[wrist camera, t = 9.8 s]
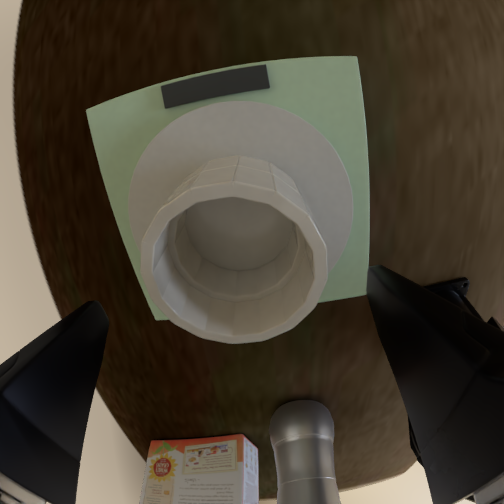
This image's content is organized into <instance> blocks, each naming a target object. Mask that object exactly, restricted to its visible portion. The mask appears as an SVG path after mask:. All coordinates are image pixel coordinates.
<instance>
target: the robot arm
mask: <svg viewBox="0 0 504 504" xmlns="http://www.w3.org/2000/svg"><path fill="white" fill-rule="evenodd" d="M469 283H470V282H469V280H468V279H467V278H466V277H464V278H460V279H455V280H451V281H447V282H442V283H438V284H434V285H429V286H424V287H422V286H420V285H418V284H416V283H414V282H413V281H411V280H409V279H407V278H405V277H403V276H401V275H399V274H397V273H396V272H394V271H392V270H390V269H388V268H386V267H384V266H382V265H376V266H370V267H369V268H368V271H367V285H366V292H367V297H368V300H369V304H370V307H371V311H372V314H373V317H374V321H375V325H376V328H377V332H378V335H379V338H380V340H381V343H382V345H383V348H384V350H385V353H386V355H387V358H388V361H389V363H390V366H391V368H392V371H393V374H394V376H395V379H396V382H397V384H398V387H399V390H400V393H401V396H402V398H403V401H404V404H405V407H406V410H407V413H408V422H409V435H410V445H411V449H412V450H413V451H414V454H415V455H416V457H417V460H418V462H419V463H420V464H421V465H422V466H423V467H424V469H425V473H426V477H427V481H428V484H429V488H430V493H431V497H432V501H433V504H455V503H457V502H459V501H461V500H463V499H467V500H469V501H472V502H475V503H476V504H504V328H503V327H502V326H501V325H500V324H499V323H498V322H497V321H496V320H495V319H494V318H493V317H491V318H490V319H489V321H488V322H487V323H486V322H485V321H484V320H483V319H482V318H481V316H480V315H479V314H478V312H477V311H476V310H475V308H474V307H473V306H472V305H471V303H470V302H469V301H468V299H467V298H466V294H467V291H468V287H469ZM108 327H109V320H108V317H107V315H106V313H105V311H104V309H103V308H102V306H101V304H100V302H98V301H88V302H86V303H85V304H83V305H82V306H81V307H79V308H78V309H76V310H75V311H73V312H72V313H70V314H69V315H68V316H66V317H65V318H63V319H62V320H61V321H59V322H58V323H56V324H55V325H54V326H52V327H51V328H49V329H48V330H47V331H45V332H44V333H42V334H41V335H40V336H38V337H37V338H36V339H34V340H33V341H32V342H30V343H29V344H28V345H26V346H25V347H23V348H22V349H21V350H20V351H18V352H17V353H15V354H14V355H13V356H11V357H10V358H9V359H7V360H6V361H5V362H3V363H2V364H1V365H0V504H46V502H49V503H51V504H75V502H76V492H77V484H78V476H79V468H80V460H81V454H82V448H83V442H84V437H85V432H86V427H87V422H88V417H89V412H90V408H91V403H92V399H93V395H94V390H95V386H96V382H97V379H98V375H99V371H100V367H101V363H102V359H103V354H104V348H105V343H106V337H107V332H108Z"/></svg>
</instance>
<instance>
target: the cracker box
mask: <svg viewBox="0 0 504 504" xmlns="http://www.w3.org/2000/svg"><path fill="white" fill-rule="evenodd" d="M139 504H259V484H258V448H257V447H256V446H255V445H254V444H252V443H251V442H250V441H249V440H248V439H247V438H246V437H245V436H244V435H243V434H235V435H228V436H219V437H209V438H197V439H181V440H152V441H151V444H150V448H149V453H148V458H147V464H146V469H145V474H144V479H143V485H142V490H141V496H140V503H139Z"/></svg>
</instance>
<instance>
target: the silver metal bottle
mask: <svg viewBox="0 0 504 504" xmlns="http://www.w3.org/2000/svg"><path fill="white" fill-rule="evenodd" d="M269 433H270V438H271V443H272V447H273V450H274V454H275V462H276V469H277V477H278V492H277V504H341V502H340V498H339V493H338V487H337V484H336V477H335V472H334V453H333V441H334V423H333V420H332V417H331V415H330V412H329V410H328V409H327V408H326V407H325V406H324V405H323V404H321V403H319V402H317V401H313V400H297V401H292V402H289V403H286V404H284V405H282V406H280V407H279V408H278V409H277V410H276V411H275V413H274V414H273V415H272V417H271V422H270V428H269Z"/></svg>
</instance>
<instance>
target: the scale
mask: <svg viewBox="0 0 504 504" xmlns="http://www.w3.org/2000/svg"><path fill="white" fill-rule="evenodd" d="M86 113H87V118H88V122H89V127H90V131H91V135H92V139H93V144H94V148H95V151H96V155H97V159H98V163H99V166H100V170H101V174H102V177H103V181H104V184H105V187H106V191H107V194H108V197H109V200H110V203H111V207H112V210H113V213H114V216H115V219H116V222H117V225H118V227H119V230H120V233H121V236H122V239H123V242H124V244H125V247H126V250H127V252H128V255H129V258H130V260H131V263H132V265H133V268H134V270H135V273H136V275H137V278H138V280H139V283H140V285H141V288H142V290H143V292H144V295H145V297H146V299H147V302H148V304H149V306H150V308H151V311H152V313H153V315H154V317H155V320H168V319H169V318H168V317H167V316H166V315H165V314H164V313H163V312H162V311H161V310H160V309H159V308H158V307H157V306H156V305H155V304H154V303H153V301H152V300H151V298H150V295H149V293H148V290H147V288H146V286H145V283H144V281H143V278H142V276H141V272H140V261H141V241H142V238H143V236H144V234H145V233H146V231H147V229H148V227H149V225H150V224H151V222H152V220H153V218H154V217H155V215H156V213H157V211H158V210H159V209H160V208H161V206H162V205H163V204H164V203H165V202H166V200H167V199H168V198H169V197H170V196H171V194H172V193H173V192H174V191H175V190H176V189H177V187H178V186H179V185H180V184H181V183H182V181H183V180H184V179H185V178H186V177H187V176H188V175H189V174H191V173H192V172H194V171H195V170H197V169H198V168H200V167H201V166H203V165H204V164H206V163H207V162H209V161H211V160H214V159H219V158H225V157H231V156H237V155H240V156H241V155H242V156H247V157H251V158H255V159H260V160H264V161H268V162H269V163H272V164H273V165H275V166H276V167H277V168H279V169H280V170H281V171H283V172H284V173H285V174H287V175H288V176H290V177H291V178H292V179H293V180H294V182H295V184H296V185H297V187H298V189H299V190H300V192H301V194H302V196H303V197H304V199H305V201H306V203H307V205H308V207H309V209H310V211H311V214H312V216H313V218H314V220H315V222H316V224H317V226H318V229H319V231H320V233H321V235H322V237H323V240H324V242H325V244H326V247H327V266H328V279H327V282H326V285H325V287H324V289H323V291H322V294H321V296H320V298H319V300H318V303H319V302H325V301H332V300H338V299H344V298H350V297H356V296H362V295H366V294H367V292H366V285H367V271H368V263H369V232H370V196H369V165H368V148H367V134H366V122H365V112H364V103H363V95H362V87H361V80H360V73H359V66H358V60H357V57H356V56H326V57H305V58H292V59H282V60H272V61H264V62H257V63H250V64H243V65H237V66H231V67H226V68H221V69H216V70H211V71H206V72H202V73H197V74H193V75H189V76H185V77H181V78H177V79H173V80H170V81H166V82H163V83H159V84H156V85H152V86H149V87H146V88H143V89H140V90H137V91H134V92H131V93H128V94H125V95H122V96H120V97H117V98H114V99H111V100H109V101H106V102H104V103H101V104H99V105H96V106H94V107H91V108H89V109H87V110H86Z"/></svg>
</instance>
